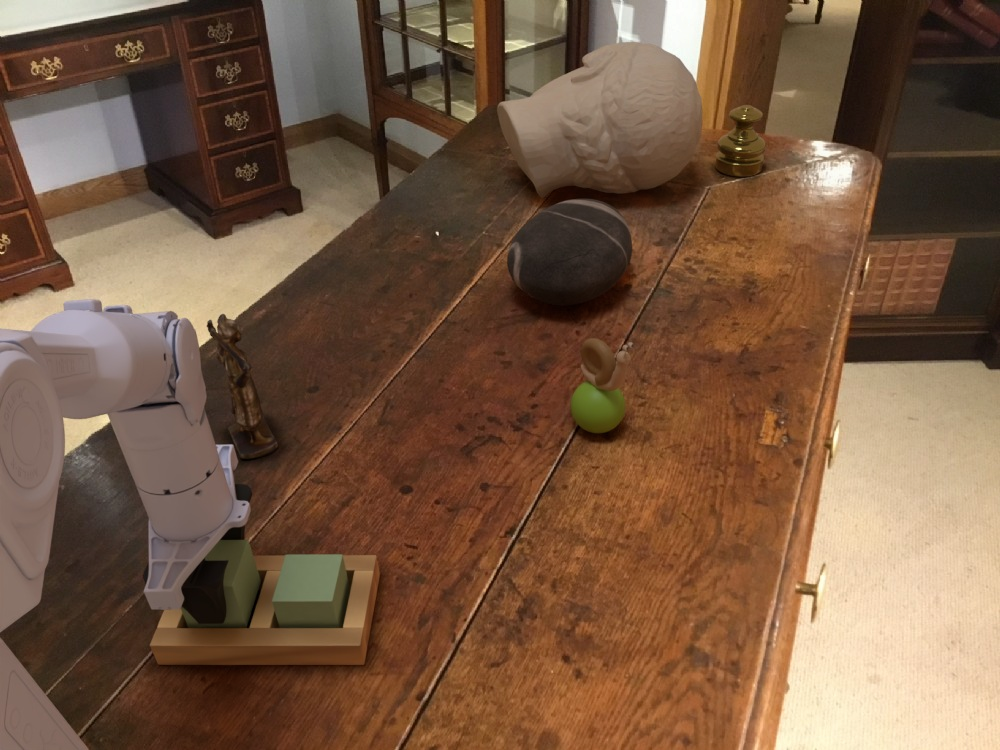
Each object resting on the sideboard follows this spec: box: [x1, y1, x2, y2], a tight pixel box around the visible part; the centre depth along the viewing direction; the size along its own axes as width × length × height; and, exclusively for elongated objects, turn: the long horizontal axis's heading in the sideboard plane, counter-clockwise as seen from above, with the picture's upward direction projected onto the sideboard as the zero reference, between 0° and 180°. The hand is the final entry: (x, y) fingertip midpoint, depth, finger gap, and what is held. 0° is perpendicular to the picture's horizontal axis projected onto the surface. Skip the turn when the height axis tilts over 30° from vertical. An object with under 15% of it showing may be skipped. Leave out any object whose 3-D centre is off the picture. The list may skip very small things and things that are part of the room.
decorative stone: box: [506, 198, 633, 307], centre depth 106 cm, size 19×14×10 cm
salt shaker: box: [714, 104, 767, 178], centre depth 133 cm, size 7×7×10 cm
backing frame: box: [149, 554, 381, 666], centre depth 68 cm, size 9×16×2 cm, turn 89°
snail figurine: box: [570, 337, 634, 434], centre depth 82 cm, size 5×6×12 cm
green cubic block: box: [272, 553, 350, 628], centre depth 67 cm, size 5×5×5 cm
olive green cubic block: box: [181, 539, 261, 628], centre depth 66 cm, size 5×5×5 cm
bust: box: [496, 41, 704, 199], centre depth 127 cm, size 21×24×30 cm
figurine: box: [206, 313, 279, 460], centre depth 81 cm, size 7×4×15 cm, turn 28°
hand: (221, 593), depth 67 cm, fingers closed on olive green cubic block, 4 cm apart
